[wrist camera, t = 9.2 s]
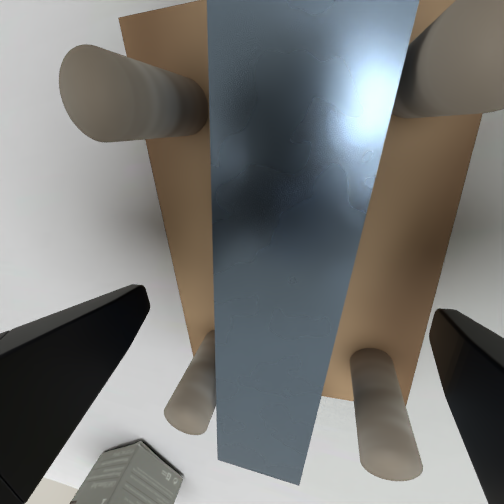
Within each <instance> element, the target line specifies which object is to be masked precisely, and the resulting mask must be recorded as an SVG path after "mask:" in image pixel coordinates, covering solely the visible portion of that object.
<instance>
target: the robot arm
mask: <svg viewBox="0 0 504 504" xmlns="http://www.w3.org/2000/svg"><path fill="white" fill-rule="evenodd" d="M149 310H150V303H149V299H148V296H147V292H146V289H145V287H144V286H143V285H135V284H132V285H129V286H126V287H124V288H121V289H118V290H116V291H113V292H110V293H108V294H105V295H102V296H99V297H97V298H94V299H91V300H89V301H86V302H83V303H81V304H78V305H75V306H73V307H70V308H67V309H65V310H62V311H59V312H57V313H54V314H51V315H49V316H46V317H43V318H41V319H38V320H35V321H33V322H30V323H27V324H25V325H22V326H19V327H17V328H14V329H12V330H11V331H6V332H3V333H1V334H0V504H25V503H26V502H27V500H28V499H29V497H30V496H31V494H32V493H33V491H34V490H35V488H36V487H37V485H38V484H39V482H40V481H41V479H42V478H43V476H44V475H45V473H46V472H47V470H48V469H49V467H50V466H51V464H52V463H53V461H54V460H55V458H56V457H57V456H58V454H59V453H60V451H61V450H62V448H63V447H64V445H65V444H66V442H67V441H68V439H69V438H70V436H71V435H72V433H73V432H74V430H75V429H76V427H77V426H78V424H79V423H80V421H81V420H82V418H83V417H84V415H85V414H86V412H87V411H88V409H89V408H90V406H91V405H92V403H93V402H94V400H95V399H96V397H97V396H98V394H99V393H100V391H101V390H102V388H103V387H104V385H105V384H106V382H107V381H108V379H109V378H110V376H111V375H112V373H113V372H114V370H115V369H116V367H117V366H118V364H119V363H120V361H121V360H122V358H123V357H124V355H125V354H126V352H127V351H128V349H129V347H130V345H131V344H132V342H133V340H134V338H135V336H136V335H137V333H138V331H139V329H140V327H141V325H142V324H143V322H144V320H145V318H146V316H147V314H148V312H149ZM429 339H430V344H431V347H432V351H433V355H434V358H435V362H436V365H437V369H438V373H439V376H440V380H441V384H442V387H443V390H444V394H445V397H446V399H447V402H448V405H449V407H450V410H451V412H452V415H453V417H454V420H455V422H456V425H457V427H458V429H459V432H460V434H461V437H462V439H463V442H464V444H465V447H466V449H467V452H468V454H469V457H470V459H471V462H472V464H473V467H474V469H475V472H476V474H477V476H478V479H479V481H480V484H481V486H482V489H483V491H484V494H485V496H486V499H487V501H488V504H504V338H502V337H501V336H499V335H497V334H496V333H494V332H492V331H491V330H489V329H487V328H486V327H484V326H482V325H481V324H479V323H477V322H475V321H474V320H472V319H470V318H469V317H467V316H465V315H464V314H462V313H460V312H459V311H457V310H454V309H437V310H436V312H435V314H434V317H433V321H432V325H431V329H430V333H429Z"/></svg>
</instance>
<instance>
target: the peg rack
mask: <svg viewBox="0 0 504 504" xmlns="http://www.w3.org/2000/svg"><path fill="white" fill-rule="evenodd" d="M119 23H120V27H121V32H122V36H123V41H124V45H125V50H126V54H127V57H126V56H123V55H120V54H117V53H114V52H111V51H108V50H105V49H103V48H100V47H97V46H93V45H79V46H76V47H75V48H73V49H71V50H70V51H69V52H68V53H67V55H66V56H65V58H64V59H63V62H62V64H61V68H60V73H59V88H60V94H61V98H62V101H63V104H64V107H65V109H66V111H67V113H68V115H69V117H70V118H71V120H72V121H73V123H74V124H75V125H76V126H77V127H78V128H79V129H80V130H81V131H82V132H83V133H84V134H85V135H87V136H88V137H90V138H92V139H94V140H96V141H99V142H118V141H131V140H143V139H145V140H146V145H147V149H148V154H149V158H150V163H151V167H152V172H153V176H154V181H155V185H156V190H157V194H158V199H159V203H160V208H161V212H162V217H163V221H164V226H165V230H166V235H167V239H168V244H169V248H170V253H171V257H172V262H173V266H174V271H175V275H176V280H177V285H178V289H179V294H180V298H181V303H182V307H183V312H184V316H185V321H186V325H187V330H188V334H189V339H190V343H191V348H192V352H193V359H192V361H191V363H190V365H189V366H188V368H187V370H186V372H185V373H184V375H183V377H182V379H181V381H180V382H179V384H178V386H177V388H176V389H175V391H174V393H173V395H172V397H171V398H170V400H169V402H168V404H167V405H166V407H165V409H164V415H165V418H166V419H167V421H168V422H169V423H170V424H171V425H172V426H173V427H175V428H176V429H178V430H179V431H181V432H184V433H186V434H191V435H200V434H203V433H204V432H205V431H206V430H207V427H208V425H209V422H210V419H211V417H212V414H213V412H214V409H215V406H216V367H215V326H214V284H213V242H212V201H211V159H210V118H209V76H208V34H207V0H199V1H194V2H189V3H185V4H180V5H176V6H171V7H166V8H162V9H157V10H152V11H148V12H143V13H138V14H134V15H129V16H124V17H120V18H119ZM501 109H504V0H420V1H419V5H418V9H417V13H416V17H415V21H414V25H413V29H412V33H411V37H410V41H409V45H408V49H407V53H406V57H405V61H404V65H403V69H402V73H401V77H400V81H399V85H398V89H397V93H396V97H395V101H394V105H393V109H392V113H391V117H390V121H389V125H388V129H387V133H386V137H385V142H384V146H383V150H382V154H381V158H380V162H379V166H378V170H377V174H376V178H375V182H374V186H373V190H372V194H371V198H370V202H369V206H368V210H367V214H366V218H365V222H364V226H363V230H362V234H361V238H360V242H359V246H358V250H357V254H356V258H355V262H354V266H353V270H352V274H351V278H350V282H349V287H348V291H347V295H346V299H345V303H344V307H343V311H342V315H341V319H340V323H339V327H338V331H337V335H336V339H335V343H334V347H333V351H332V355H331V359H330V363H329V367H328V371H327V375H326V379H325V383H324V387H323V391H322V395H321V396H325V397H331V398H337V399H343V400H349V401H354V407H355V417H356V426H357V435H358V445H359V454H360V462H361V464H362V466H363V467H364V468H365V469H366V470H367V471H368V472H369V473H371V474H373V475H375V476H377V477H379V478H382V479H386V480H391V481H407V480H412V479H414V478H416V477H418V476H419V475H420V474H421V473H422V471H423V465H422V462H421V458H420V455H419V451H418V448H417V444H416V441H415V438H414V434H413V431H412V427H411V424H410V420H409V417H408V413H407V410H406V404H407V400H408V396H409V392H410V389H411V385H412V381H413V377H414V373H415V369H416V366H417V362H418V358H419V354H420V350H421V347H422V343H423V339H424V335H425V331H426V327H427V324H428V320H429V316H430V312H431V308H432V304H433V301H434V297H435V293H436V289H437V285H438V282H439V278H440V274H441V270H442V266H443V262H444V259H445V255H446V251H447V247H448V243H449V240H450V236H451V232H452V228H453V224H454V220H455V217H456V213H457V209H458V205H459V201H460V198H461V194H462V190H463V186H464V182H465V178H466V175H467V171H468V167H469V163H470V159H471V156H472V152H473V148H474V144H475V140H476V136H477V133H478V129H479V125H480V121H481V117H482V114H483V113H488V112H494V111H498V110H501Z"/></svg>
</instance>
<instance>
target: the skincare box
mask: <svg viewBox="0 0 504 504" xmlns="http://www.w3.org/2000/svg"><path fill="white" fill-rule="evenodd" d="M182 481H183V478H182V477H181V476H180V475H179V474H178V473H177V472H176V471H174V470H173V469H172V468H171V467H169V466H168V465H167V464H166V463H164V462H163V461H162V460H161V459H160V458H159V457H158V456H157V455H156V454H154V453H153V452H152V451H151V450H150V449H149V448H148V447H147V446H146V445H145V444H144V443H143V442H142V441H139V442H137V443H135V444H132V445H129V446H126V447H122V448H118V449H115V450H111V451H108V452H105V453H102V454H101V455H100V457H99V459H98V460H97V462H96V463H95V465H94V466H93V468H92V469H91V471H90V473H89V474H88V476H87V477H86V479H85V480H84V482H83V484H82V485H81V487H80V488H79V490H78V491H77V493H76V495H75V496H74V498H73V499H72V501H71V502H70V504H174V502H175V499H176V497H177V494H178V491H179V488H180V486H181V483H182Z"/></svg>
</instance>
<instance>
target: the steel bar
mask: <svg viewBox="0 0 504 504" xmlns="http://www.w3.org/2000/svg"><path fill="white" fill-rule="evenodd" d="M419 1H420V0H207V34H208V76H209V118H210V159H211V201H212V242H213V284H214V326H215V367H216V409H217V451H218V460H220V461H223V462H226V463H230V464H233V465H236V466H239V467H242V468H245V469H248V470H252V471H255V472H258V473H261V474H264V475H267V476H270V477H274V478H277V479H280V480H283V481H286V482H289V483H292V484H296V485H299V484H300V480H301V476H302V472H303V468H304V464H305V460H306V456H307V452H308V448H309V444H310V440H311V436H312V432H313V428H314V423H315V419H316V415H317V411H318V407H319V403H320V399H321V395H322V391H323V387H324V383H325V379H326V375H327V371H328V367H329V363H330V359H331V355H332V351H333V347H334V343H335V339H336V335H337V331H338V327H339V323H340V319H341V315H342V311H343V307H344V303H345V299H346V295H347V291H348V287H349V282H350V278H351V274H352V270H353V266H354V262H355V258H356V254H357V250H358V246H359V242H360V238H361V234H362V230H363V226H364V222H365V218H366V214H367V210H368V206H369V202H370V198H371V194H372V190H373V186H374V182H375V178H376V174H377V170H378V166H379V162H380V158H381V154H382V150H383V146H384V142H385V137H386V133H387V129H388V125H389V121H390V117H391V113H392V109H393V105H394V101H395V97H396V93H397V89H398V85H399V81H400V77H401V73H402V69H403V65H404V61H405V57H406V53H407V49H408V45H409V41H410V37H411V33H412V29H413V25H414V21H415V17H416V13H417V9H418V5H419Z"/></svg>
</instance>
